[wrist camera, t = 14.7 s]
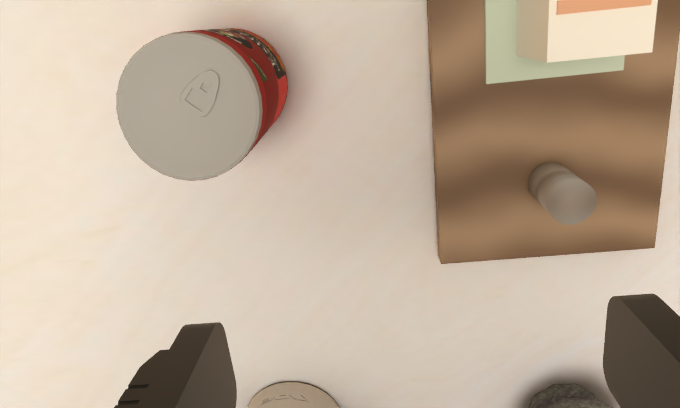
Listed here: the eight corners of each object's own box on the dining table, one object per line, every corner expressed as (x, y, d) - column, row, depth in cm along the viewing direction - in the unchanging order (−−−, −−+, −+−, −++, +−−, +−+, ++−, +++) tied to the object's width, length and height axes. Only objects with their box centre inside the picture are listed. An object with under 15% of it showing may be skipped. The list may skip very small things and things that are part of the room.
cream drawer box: (610, -48, 31) (666, -63, 25) (603, 46, 33) (653, 52, 27) (517, -38, 32) (552, -50, 26) (515, 55, 33) (547, 63, 28)
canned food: (303, 51, 36) (279, 64, 25) (269, 153, 38) (235, 202, 28) (200, 10, 35) (132, 6, 25) (172, 117, 38) (101, 154, 27)
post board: (644, 239, 39) (690, 276, 34) (438, 255, 41) (450, 293, 35) (682, -112, 31) (751, -140, 26) (423, -79, 33) (436, -99, 27)
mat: (621, 69, 34) (623, 70, 33) (485, 83, 34) (486, 84, 34) (633, -82, 31) (636, -83, 30) (483, -63, 31) (484, -64, 31)
